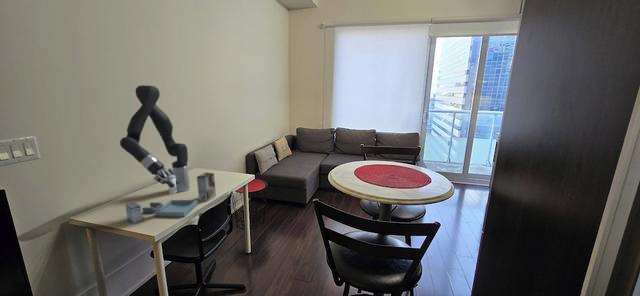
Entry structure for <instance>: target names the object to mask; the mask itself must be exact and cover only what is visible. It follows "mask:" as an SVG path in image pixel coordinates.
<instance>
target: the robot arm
mask: <svg viewBox="0 0 640 296" xmlns="http://www.w3.org/2000/svg"><path fill="white" fill-rule="evenodd" d="M160 95H161V94H160V90H159V88H157V86H155V85H143V84H142V85H138V86H137V87H136V88H135V96H136V98H137V99H138V101H139V102H140V104H141V106H140V107H139V109H138V110H137V111H136V112H135V113H134V114H133V115H132V117H131V118H130V120H129V122H128V125H127V128H126V133H127V134H126V136H124V137H123V138H121V139H120V141H119V145H120V147H121V149H123V150H124V151H125V152H127V153H128V154H130V155H131V156H132V157H133V158H134V159H135V160H136V161H137V162H138V163H140V164H141V165H142V167H144V169H145V170H147V171H148V172H149V173H150V174H152V175H153V176H154V175H155V176H154V177H153V180H155V181H156V182H158V183H160V184H162V185H165V184H166V185H167V186H168V185H169V186H170V187H171V188H173V187H174V186H175V185H174V184H173V183H172V182H171V181H169V179H168V178H167V176H169V175H175V178H176V187H177V193H178V192H186V191H188V190H190V189H191V188H190V187H191V186H190V184H191V183H190V176H189V175H190V174H189V169H188V161H189V156H188V154H189V153H188V147H187V145H186V144H185V143H178V142H176V141H175V140H174V137H173V131H174V130H173V129H174V127H173V124H172V122H171V120H170V118H169V116H168V115H167V114H166V113H165V112H164V111H163V110H162V109H161V108H160V107H159V106H158V105H157V104H156V103H157V102H158V100H159V98H160ZM148 117H149V118H150V119H151V121H152V123H153V125H154V127H155V129H156V130H157V132H158V134H159V136H160V138H161V140H162V142H163V145H164V147H165V149H166V152H167V153H168V155H169V156H171V157H174V158H175V157H176V160H174V161H173V162H172V163H171V165H172V168H168V169H167V168H165V164H163V162H161V161H160V160H159V159H158V158H156V157H155V156H154V155H152V153H150V152H149V151H148V150H147V149H145V148H144V147H142V146H141V145H140V141H141V134H142V132H143V130H144V127H145V124H146V121H147V119H148Z"/></svg>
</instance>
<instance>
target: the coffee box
mask: <svg viewBox="0 0 640 296" xmlns="http://www.w3.org/2000/svg"><path fill="white" fill-rule="evenodd" d="M196 180H197V181H196V182H197V192H198V200H199V201H202V202H209V201H211V200H212V199H214V198H215V197H217V193H216V182H215V181H216V180H215V173H214V172H213V173H211V172H204V173H202V174H200V175H197V176H196Z"/></svg>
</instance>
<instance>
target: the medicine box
mask: <svg viewBox="0 0 640 296" xmlns="http://www.w3.org/2000/svg"><path fill="white" fill-rule="evenodd" d="M125 212H126V213H125V214H126V218H127V221H130V222H132V223H133V224H137V223H138V222H139V223H140V222H141V221H143V211H142V206H141V205H140V204H137V203H136V202H130V203H128V204H125Z"/></svg>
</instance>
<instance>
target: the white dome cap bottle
mask: <svg viewBox="0 0 640 296" xmlns="http://www.w3.org/2000/svg"><path fill="white" fill-rule="evenodd" d="M167 178H168V179H169V181H171V182H172V183H173V184H174V185H175V186H174V187H173V188H171V187H170V186H169V185H168V184H167V186H168V194H170V195H173V194H177V193H178V192H177V187H176V178H175V175H173V174H172V175H168V176H167Z"/></svg>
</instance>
